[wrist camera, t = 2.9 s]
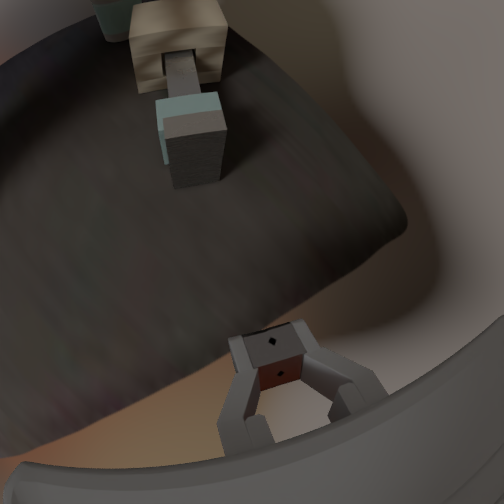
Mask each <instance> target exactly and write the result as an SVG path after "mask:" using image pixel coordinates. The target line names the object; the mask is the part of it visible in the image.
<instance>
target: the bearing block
mask: <svg viewBox="0 0 504 504" xmlns="http://www.w3.org/2000/svg"><path fill="white" fill-rule="evenodd" d="M227 30H228V24H227V22H226V20H225V17H224V15H223V13H222V10H221V8H220V6H219V4H218V1H217V0H159V1H153V2H147V3H141V4H136V5H133V11H132V17H131V24H130V32H129V42H130V48H131V54H132V60H133V66H134V71H135V76H136V81H137V87H138V91H139V94H141V93H146V92H151V91H156V90H161V89H167V78H166V68H165V56H164V53H165V52H171V51H178V50H186V49H192V52H193V57H194V62H195V67H196V71H197V76H198V81H199V84H203V83H212V82H220V78H221V71H222V64H223V56H224V49H225V43H226V36H227Z"/></svg>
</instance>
